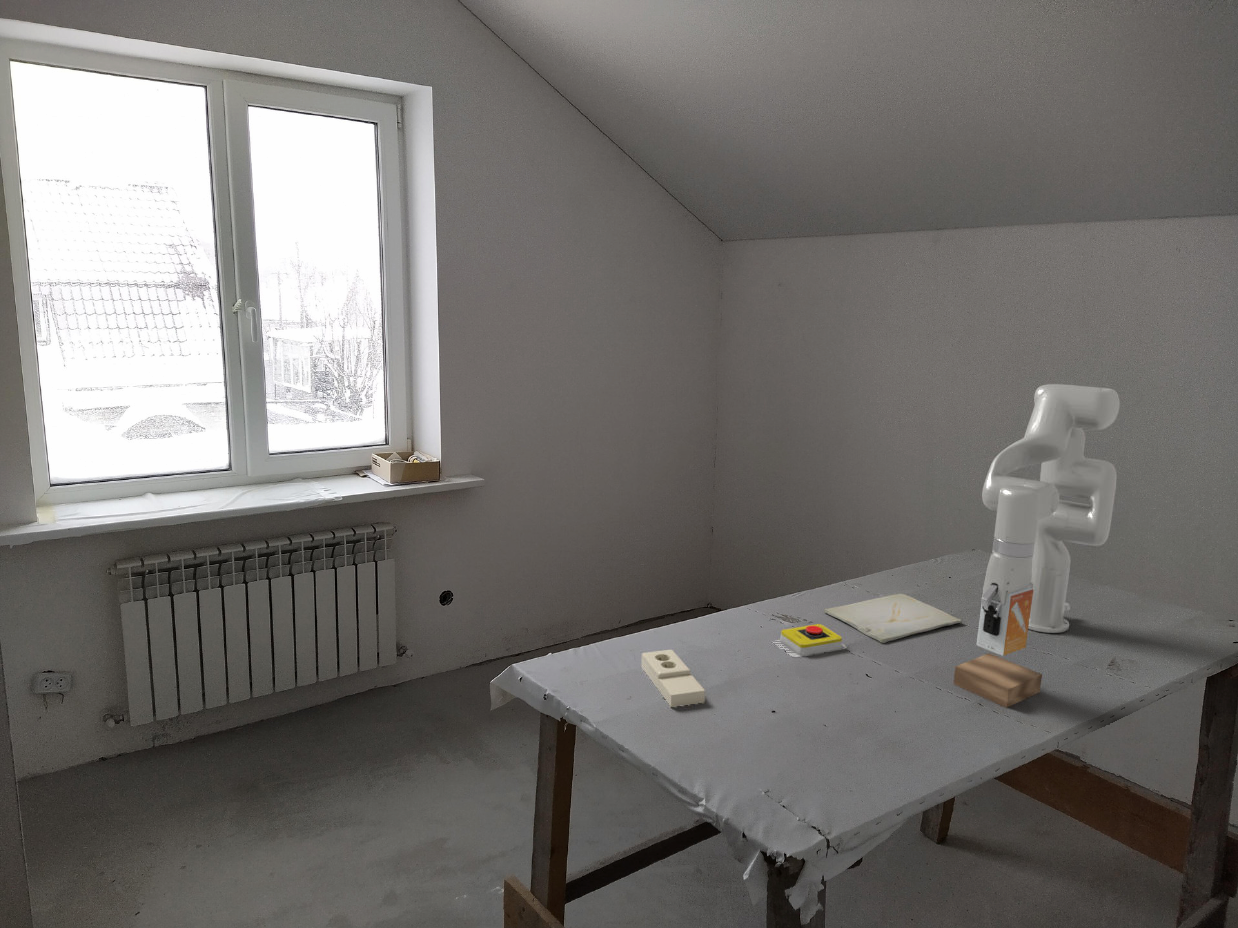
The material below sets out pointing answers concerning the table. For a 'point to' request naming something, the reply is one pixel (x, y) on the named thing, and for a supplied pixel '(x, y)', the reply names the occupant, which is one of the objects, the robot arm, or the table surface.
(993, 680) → the walnut base
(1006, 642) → the small box
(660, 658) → the electrical outlet
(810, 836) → the table surface
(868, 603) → the decorative slab
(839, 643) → the emergency button
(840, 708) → the table surface
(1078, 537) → the robot arm
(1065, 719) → the table surface
